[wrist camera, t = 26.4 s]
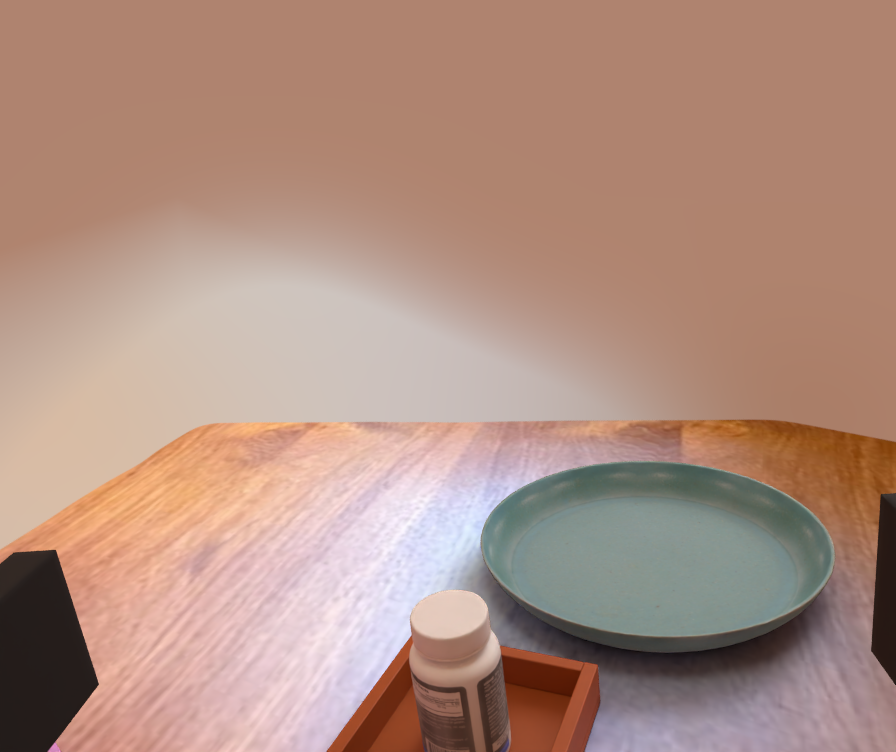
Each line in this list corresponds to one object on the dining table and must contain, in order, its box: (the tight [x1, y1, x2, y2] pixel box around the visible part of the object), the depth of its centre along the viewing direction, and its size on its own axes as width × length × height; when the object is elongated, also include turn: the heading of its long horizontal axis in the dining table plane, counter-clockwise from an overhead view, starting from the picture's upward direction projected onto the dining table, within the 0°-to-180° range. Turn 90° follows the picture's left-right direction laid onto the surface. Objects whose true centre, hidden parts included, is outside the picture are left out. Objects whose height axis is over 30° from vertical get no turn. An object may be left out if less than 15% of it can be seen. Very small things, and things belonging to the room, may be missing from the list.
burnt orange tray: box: [327, 635, 600, 752], centre depth 39 cm, size 12×12×3 cm
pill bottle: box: [409, 590, 511, 752], centre depth 38 cm, size 5×5×8 cm
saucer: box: [481, 461, 835, 653], centre depth 53 cm, size 24×24×3 cm
